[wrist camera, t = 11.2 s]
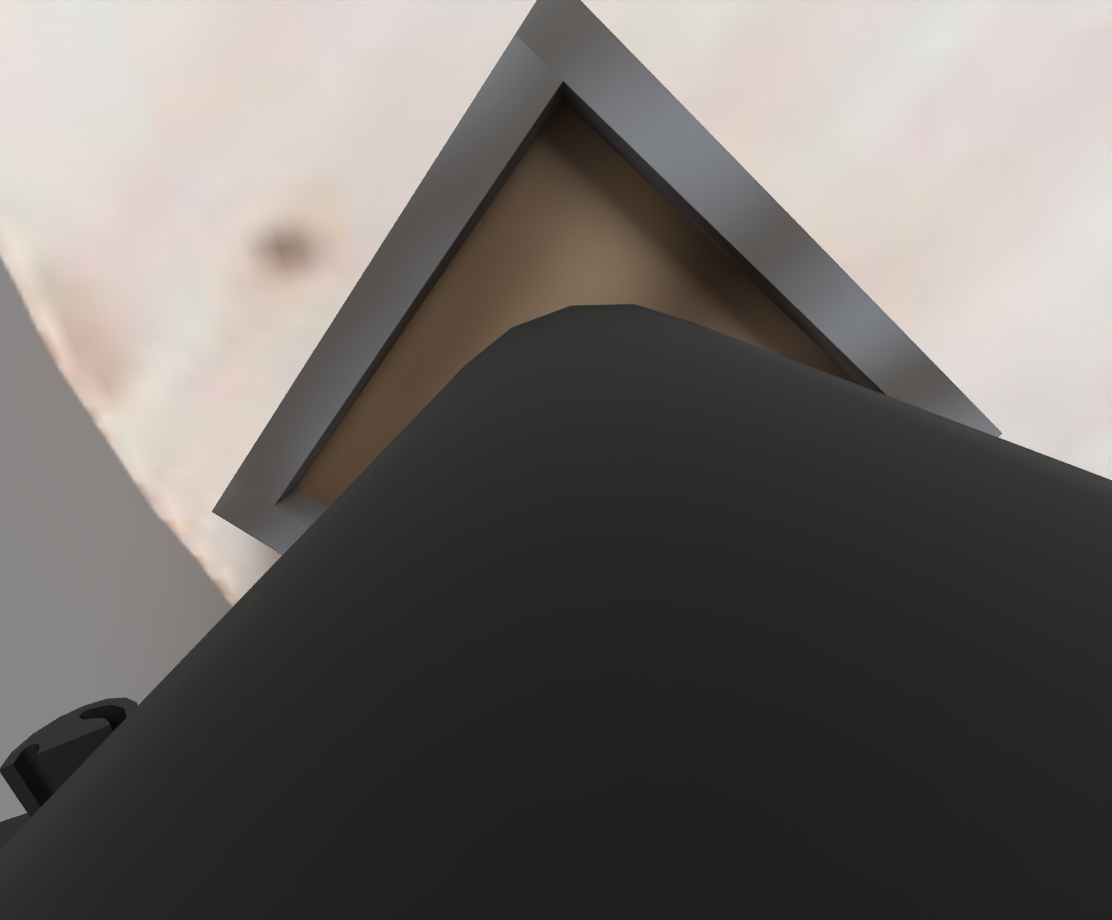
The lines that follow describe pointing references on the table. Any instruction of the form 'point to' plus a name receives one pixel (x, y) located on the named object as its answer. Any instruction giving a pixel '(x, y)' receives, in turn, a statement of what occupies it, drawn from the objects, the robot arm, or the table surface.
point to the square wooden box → (563, 265)
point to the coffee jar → (632, 669)
